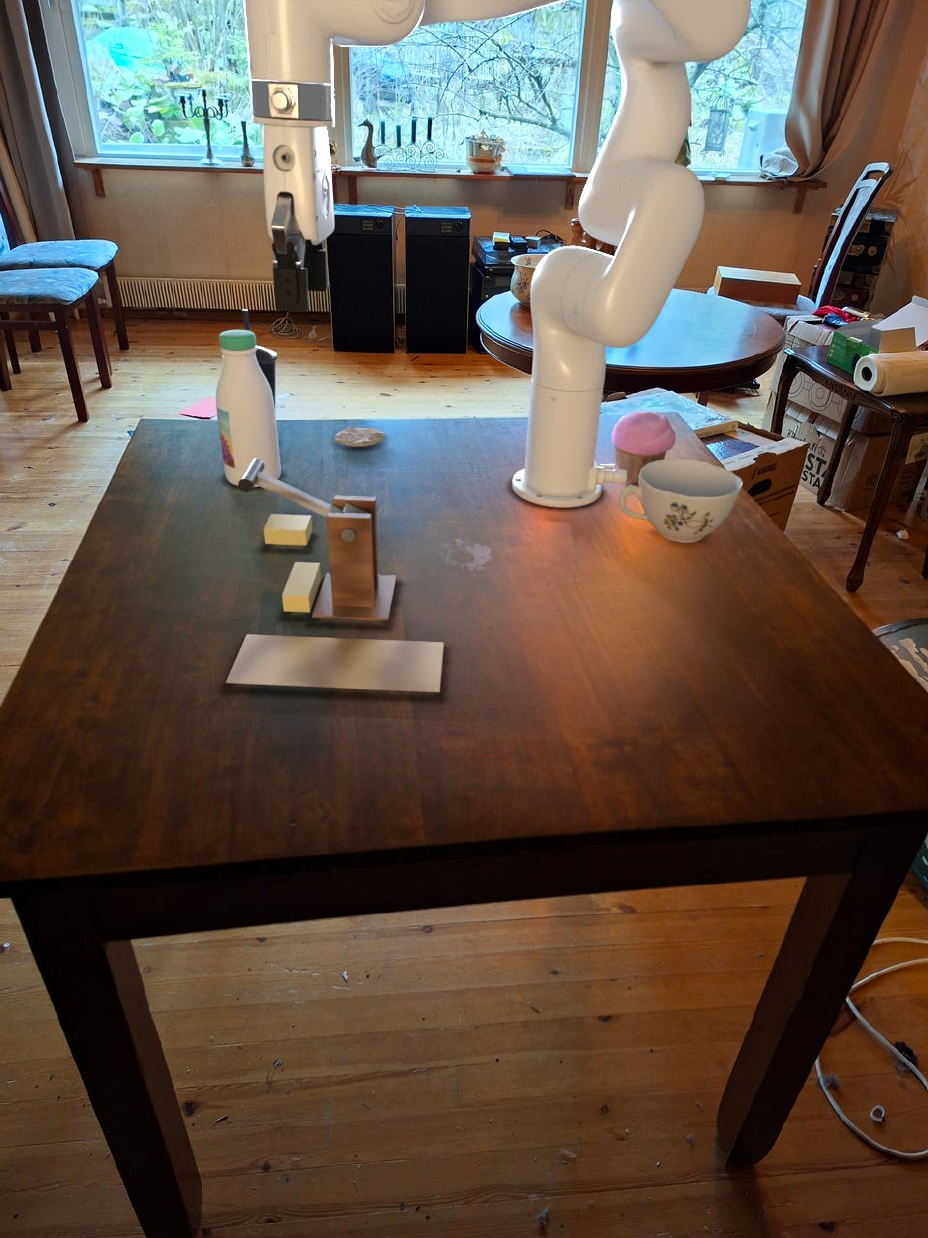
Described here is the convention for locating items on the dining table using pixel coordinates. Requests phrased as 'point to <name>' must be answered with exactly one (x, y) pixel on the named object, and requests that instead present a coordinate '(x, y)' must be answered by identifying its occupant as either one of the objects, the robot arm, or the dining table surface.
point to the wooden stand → (354, 566)
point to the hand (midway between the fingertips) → (302, 299)
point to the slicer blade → (288, 491)
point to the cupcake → (641, 441)
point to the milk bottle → (245, 409)
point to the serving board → (338, 663)
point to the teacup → (683, 497)
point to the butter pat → (288, 529)
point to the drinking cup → (264, 359)
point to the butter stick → (301, 587)
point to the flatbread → (359, 437)
